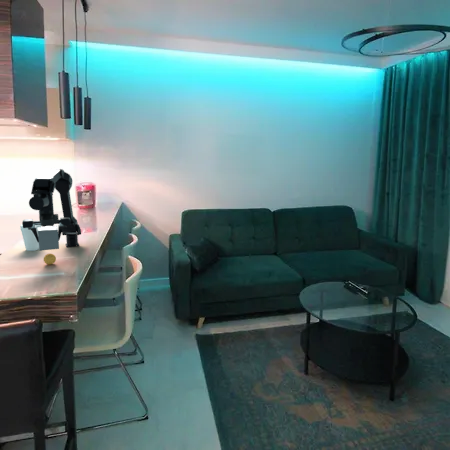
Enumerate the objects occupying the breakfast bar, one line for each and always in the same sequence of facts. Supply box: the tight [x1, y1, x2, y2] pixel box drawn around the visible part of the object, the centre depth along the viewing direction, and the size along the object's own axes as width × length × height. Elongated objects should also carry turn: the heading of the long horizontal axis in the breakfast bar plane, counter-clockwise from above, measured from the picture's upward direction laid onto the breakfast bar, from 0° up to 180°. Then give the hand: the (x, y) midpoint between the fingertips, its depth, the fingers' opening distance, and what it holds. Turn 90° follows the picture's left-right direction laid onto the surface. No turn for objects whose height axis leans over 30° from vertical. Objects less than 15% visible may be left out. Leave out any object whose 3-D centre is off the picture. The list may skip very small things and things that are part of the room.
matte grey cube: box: [38, 225, 60, 252], centre depth 152 cm, size 8×8×9 cm
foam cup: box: [19, 224, 42, 252], centre depth 177 cm, size 10×9×13 cm
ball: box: [43, 253, 57, 266], centre depth 154 cm, size 5×5×5 cm
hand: (48, 241), depth 152 cm, fingers closed on matte grey cube, 8 cm apart
